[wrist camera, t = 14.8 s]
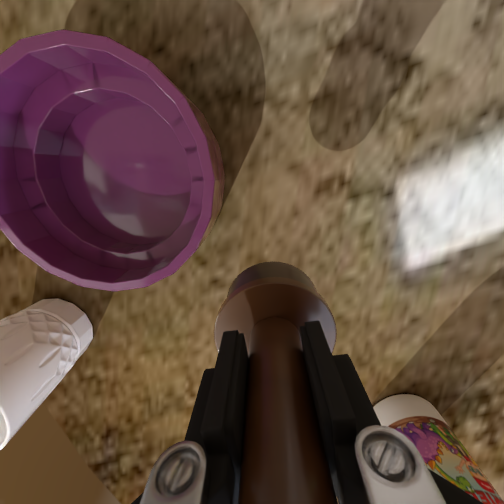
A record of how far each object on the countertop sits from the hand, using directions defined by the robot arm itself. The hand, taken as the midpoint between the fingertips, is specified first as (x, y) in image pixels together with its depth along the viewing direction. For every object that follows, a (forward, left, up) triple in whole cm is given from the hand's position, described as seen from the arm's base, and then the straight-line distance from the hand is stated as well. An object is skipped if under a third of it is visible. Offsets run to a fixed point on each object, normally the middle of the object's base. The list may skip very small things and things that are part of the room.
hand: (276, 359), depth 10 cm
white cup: (-22, -5, -14) cm, 27 cm away
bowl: (-10, +8, -14) cm, 19 cm away
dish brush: (0, 0, -4) cm, 4 cm away
